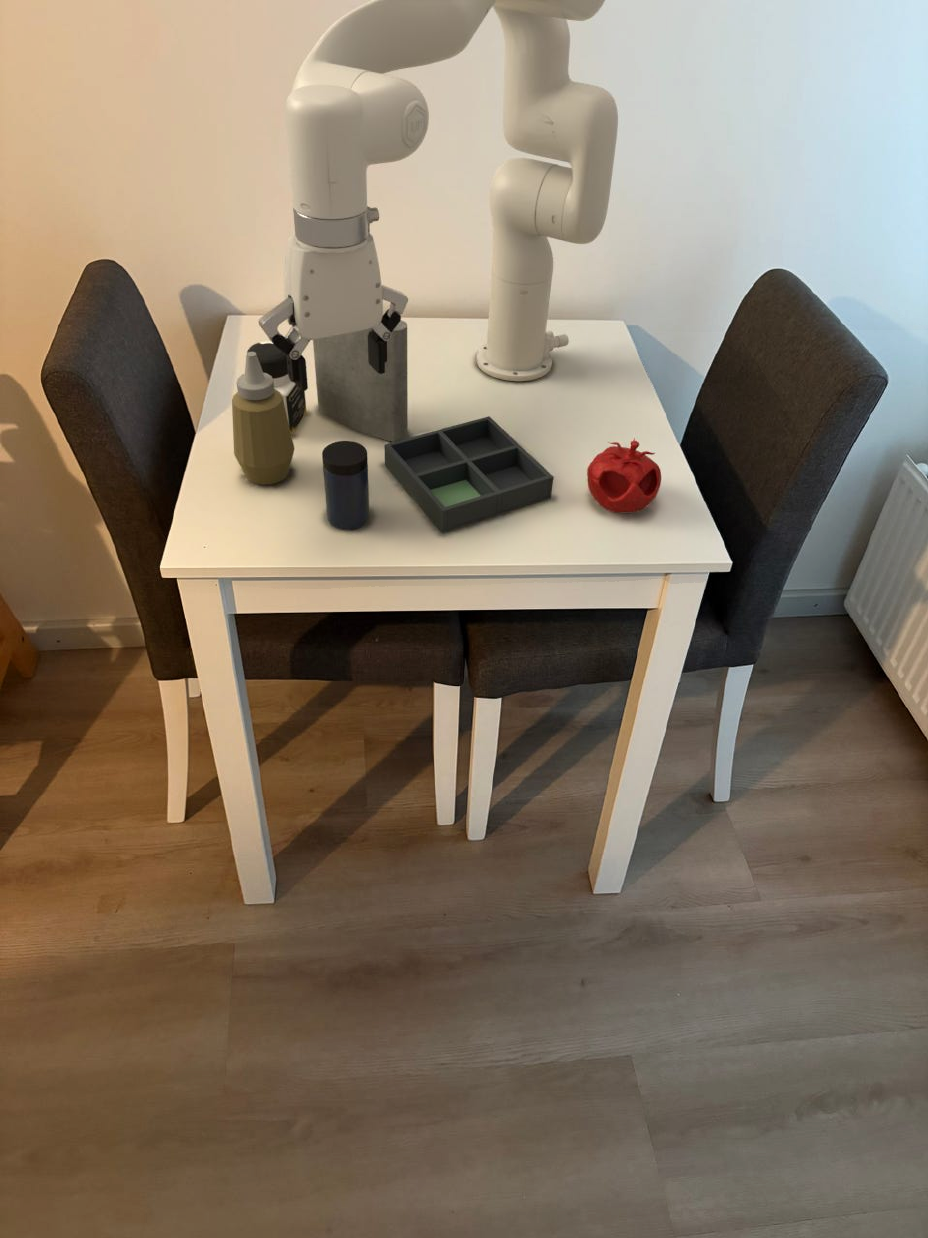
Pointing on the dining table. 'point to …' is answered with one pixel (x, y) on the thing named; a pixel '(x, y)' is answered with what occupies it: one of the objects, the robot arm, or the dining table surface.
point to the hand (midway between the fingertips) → (339, 376)
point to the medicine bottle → (281, 381)
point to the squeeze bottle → (260, 426)
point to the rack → (467, 473)
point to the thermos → (346, 484)
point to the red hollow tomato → (623, 478)
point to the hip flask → (363, 384)
